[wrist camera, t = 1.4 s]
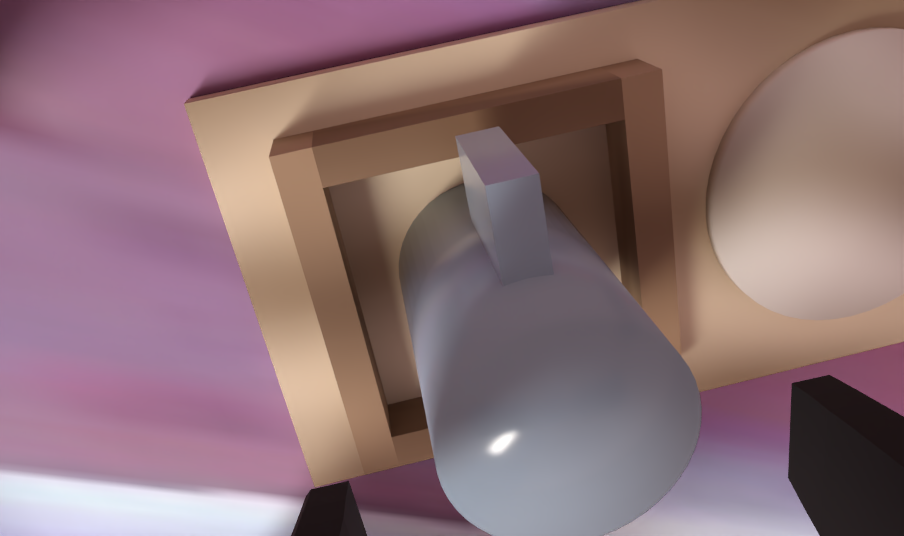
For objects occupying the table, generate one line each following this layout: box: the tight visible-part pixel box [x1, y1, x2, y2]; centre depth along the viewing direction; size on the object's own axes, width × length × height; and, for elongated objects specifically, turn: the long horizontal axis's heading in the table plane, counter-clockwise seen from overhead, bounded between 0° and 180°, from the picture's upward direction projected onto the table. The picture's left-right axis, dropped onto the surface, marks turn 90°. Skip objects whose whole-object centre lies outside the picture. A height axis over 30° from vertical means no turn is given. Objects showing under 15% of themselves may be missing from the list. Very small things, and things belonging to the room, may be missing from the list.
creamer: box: [399, 126, 702, 536], centre depth 17 cm, size 7×5×8 cm
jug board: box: [184, 0, 904, 487], centre depth 21 cm, size 12×22×2 cm, turn 101°
